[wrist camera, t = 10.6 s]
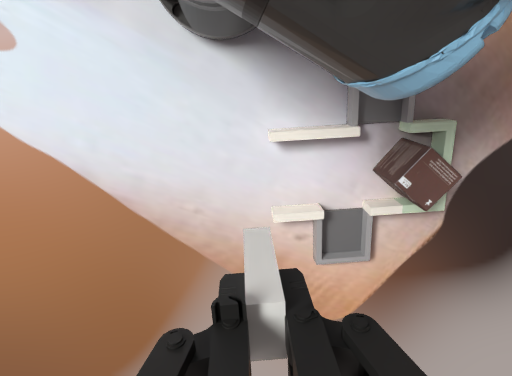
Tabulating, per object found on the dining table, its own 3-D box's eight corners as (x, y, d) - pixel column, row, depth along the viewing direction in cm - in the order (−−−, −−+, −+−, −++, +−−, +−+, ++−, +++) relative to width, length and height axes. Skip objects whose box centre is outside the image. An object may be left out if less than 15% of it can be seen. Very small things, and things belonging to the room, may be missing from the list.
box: (429, 163, 45) (464, 177, 38) (398, 194, 46) (426, 213, 39) (401, 136, 44) (432, 145, 37) (370, 168, 45) (394, 184, 38)
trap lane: (265, 67, 40) (267, 66, 37) (450, 56, 41) (466, 54, 38) (273, 260, 49) (275, 271, 46) (425, 249, 49) (437, 259, 47)
